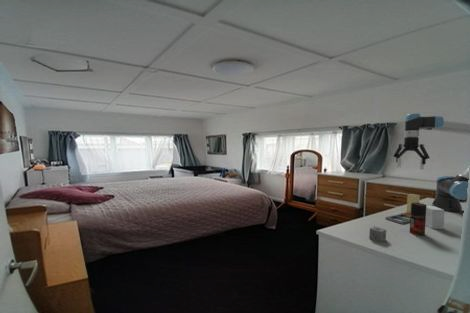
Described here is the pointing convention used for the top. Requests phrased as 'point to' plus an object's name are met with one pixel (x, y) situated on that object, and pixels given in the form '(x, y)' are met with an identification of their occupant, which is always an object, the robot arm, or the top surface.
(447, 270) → the top surface
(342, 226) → the top surface
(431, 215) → the small box
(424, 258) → the top surface
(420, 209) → the deodorant
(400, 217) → the grey flat frame
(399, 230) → the top surface
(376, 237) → the dice cube
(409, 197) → the tan wooden beam
